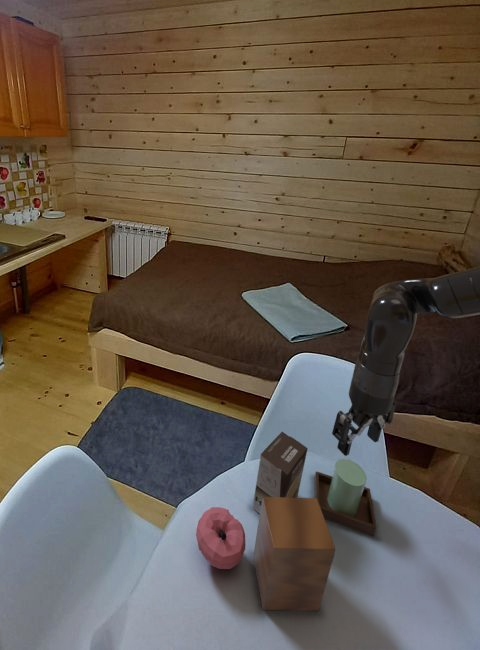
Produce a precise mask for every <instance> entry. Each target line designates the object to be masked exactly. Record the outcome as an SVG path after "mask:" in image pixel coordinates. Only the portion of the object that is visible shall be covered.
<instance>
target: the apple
mask: <svg viewBox="0 0 480 650" xmlns="http://www.w3.org/2000/svg"><path fill="white" fill-rule="evenodd" d="M197 522H198V523H197V526H196V531H195V537H196V541H197V545H198V546H197V547H198V550H199V552H200V553H201V554H202V556H203V558H204V559H205V560H206V561H207V562H208V563H209V565H210V566H212V567H214V568H217V569H219V570H231V569H233V568H235V567H236V566H237V565H239V564H240V563H241V561H242V558H243V556H244V553H245V551H246V533H245V529H244V527H243V524H242V523H241V522H240V520H238V519H237V518H235V517H234V515H232V514H231V513H230V510H229V509H228V508H224V507H221V506H217V507H215V506H212V507H209V509H207V510H205V511H203V513H202V515H201V517H199V519H198V521H197Z"/></svg>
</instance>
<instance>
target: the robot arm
mask: <svg viewBox="0 0 480 650" xmlns="http://www.w3.org/2000/svg"><path fill="white" fill-rule="evenodd" d="M429 314H430V315H431V314H437V315H439V316H441V318H443V319H449V320H451V319H459V318H460V319H461V318H465V317H466V318H467V317H472V316H477V315H478V316H479V315H480V266H478V267H472V268H468V269H465V270H460V271H456V272H455V271H454V272H451V273H448V274H443V275H439V276H437V277H427V278H413V279H403V280H396V281H392V282H389V283H385V284H383V285H381V286H378V288H376V289H375V291H374V292H373V294H372V296H371V300H370V305H369V308H368V313H367V319H366V326H365V330H364V335H363V338H362V340H361V344H360V347H359V352H358V357H357V360H356V362H355V364H354V369H353V373H352V376H351V381H350V386H349V390H348V398H349V400H350V403H351V406H350V408H349V409H348V412H345V413H344V412H343V410H339V411H338V412H337V414H336V417H335V421H334V425H333V428H332V431H331V435H332V436H333V437H334V438H335V439H336V440H337V441H338V443H337V450H339V452H340V453H341V454H342V455H343V456H345V457H347V456H349V455H350V453H351V448H352V444H353V441H354V440H355V438H356V437H357V436H358V437H360V436H361V435H362V433H363V432H364V431H365V429H366V428H368V429H367V431H366V432H367V433H366V435H367V437H368V438H369V439H370V440H371V441H372V442H373V443H378V442H379V441H380V437H381V433H382V430H383V429H385V428H386V424H388V425H390V424H391V423H392V422H393V418H394V414H395V410H396V407H397V401H396V400H395V398H396V394H397V391H398V388H399V387H398V386H399V383H400V375H401V370H402V367H403V363H404V360H405V355H406V350H407V347H408V345H409V343H410V341H411V338H412V337H413V333H414V331H415V327H416V323H417V319H418V316H419V315H429ZM353 424H355V426H357V428H356V427H355V426H353ZM350 431H351V432H350ZM349 433H350V434H349Z"/></svg>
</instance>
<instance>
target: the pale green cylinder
mask: <svg viewBox="0 0 480 650" xmlns="http://www.w3.org/2000/svg"><path fill="white" fill-rule="evenodd" d="M331 476H332V480H331V484H330V488H329V492H328V496H327V499H328V503H329V505H330V507H331V508H332V510H334V511H337V512H340V513H343V514H345V515H348V516H351V517H354V516H356V514H357V511H358V508H359V504H360V501H361V497H362V494H363V491H364V487H366V484H367V479H368V478H367V474H366V472H365V470H364V469H363V467H361V466H360V464H358V463H357V462H355V461H353V460H351V459H348V458H340V459H338V460H337V461H336V462H335V464H334V468H333V472H332V475H331Z"/></svg>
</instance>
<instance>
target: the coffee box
mask: <svg viewBox="0 0 480 650" xmlns="http://www.w3.org/2000/svg"><path fill="white" fill-rule="evenodd" d="M307 453H308V447H307V446H305V445H304V444H303V443H301V442H300V441H299V440H296V439H295V438H294V437H293V436H289V435H288V434H287V433H285V432H283V431H281V432H279V434H278V435H277V436H276V437H275V438H274V439H273V440H272V441H271V442H270V443H269V445H267V447H266V448H265V449H264V450H263V451H262V452H261V453H260V458H259V465H258V471H257V476H256V484H255V490H254V497H253V502H252V509H253V510H255V512H256V513H258V514H259V515H260V510H261V503H262V497H283V498H298V497H299V491H300V486H301V483H302V482H301V481H302V477H303V472H304V469H305V468H304V467H305V462H306V458H307Z"/></svg>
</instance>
